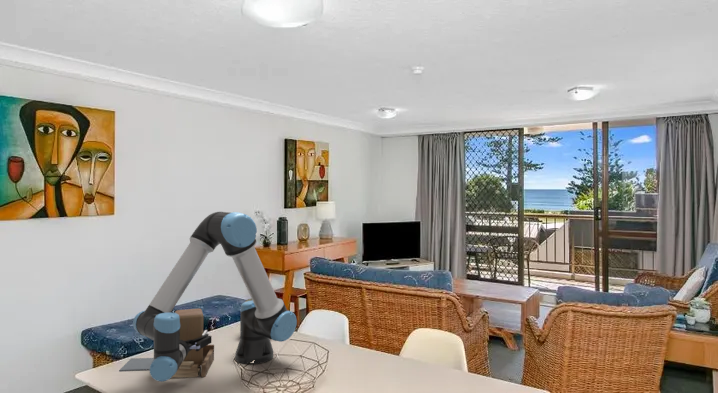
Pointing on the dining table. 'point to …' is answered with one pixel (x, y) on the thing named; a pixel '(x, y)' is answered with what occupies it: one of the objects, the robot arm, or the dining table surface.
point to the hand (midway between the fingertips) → (189, 333)
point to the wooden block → (191, 331)
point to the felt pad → (137, 364)
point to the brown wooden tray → (192, 370)
